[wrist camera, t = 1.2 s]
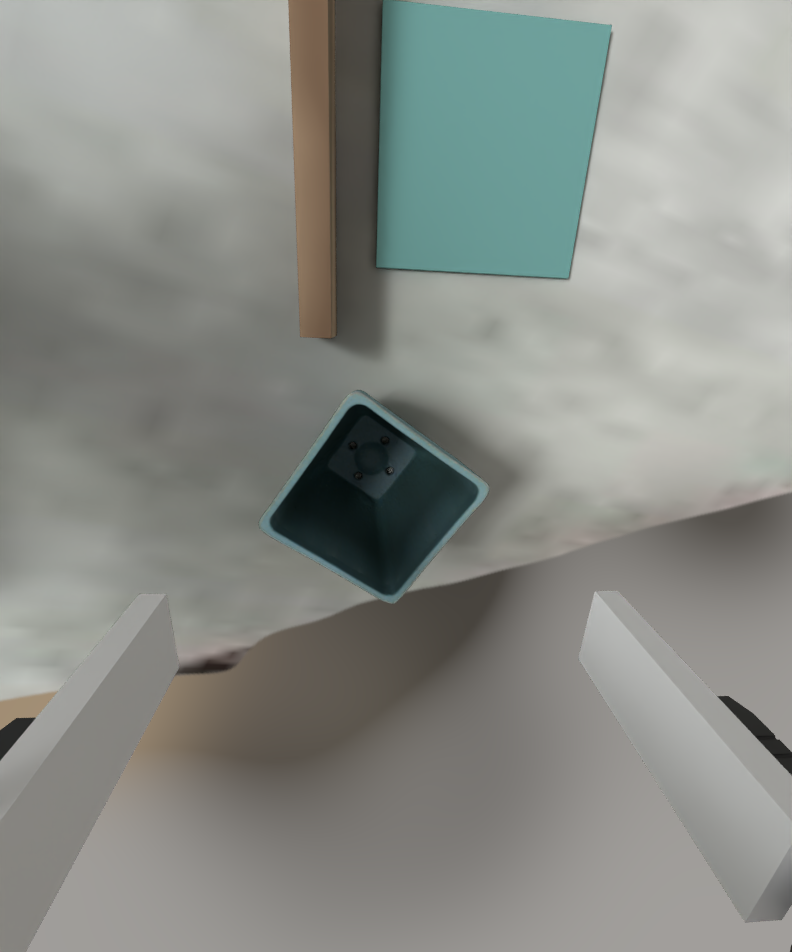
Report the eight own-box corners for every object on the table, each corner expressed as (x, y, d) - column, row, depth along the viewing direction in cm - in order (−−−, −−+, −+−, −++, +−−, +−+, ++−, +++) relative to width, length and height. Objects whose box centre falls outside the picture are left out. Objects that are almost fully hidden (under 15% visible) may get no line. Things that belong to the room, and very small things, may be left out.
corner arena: (311, 334, 26) (300, 337, 22) (295, -253, 18) (272, -458, 13) (611, 347, 28) (661, 352, 23) (725, -183, 20) (839, -341, 15)
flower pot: (355, 366, 27) (352, 386, 19) (457, 441, 29) (495, 489, 21) (284, 469, 29) (253, 529, 21) (384, 531, 32) (393, 608, 23)
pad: (376, 267, 25) (376, 266, 25) (382, 4, 21) (382, -2, 21) (565, 278, 26) (568, 278, 26) (607, 30, 22) (611, 25, 22)
